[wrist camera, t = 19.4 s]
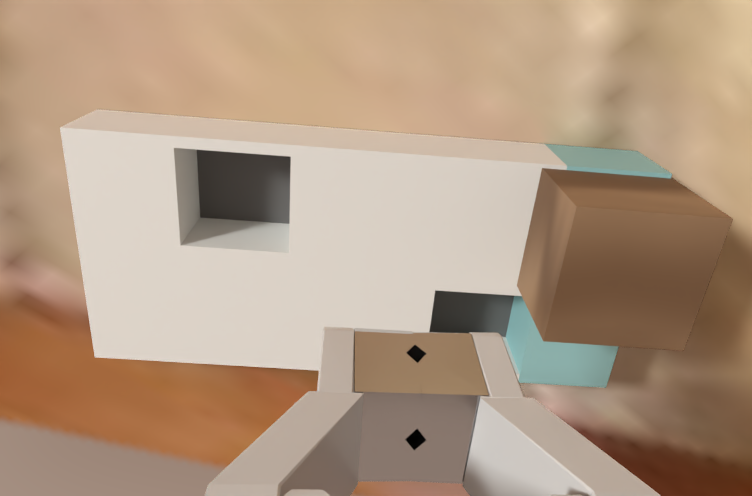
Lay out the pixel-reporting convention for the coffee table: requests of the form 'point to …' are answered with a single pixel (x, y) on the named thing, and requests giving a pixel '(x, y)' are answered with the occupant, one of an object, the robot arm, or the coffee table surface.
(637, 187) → the block
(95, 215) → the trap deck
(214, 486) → the robot arm
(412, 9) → the coffee table surface
